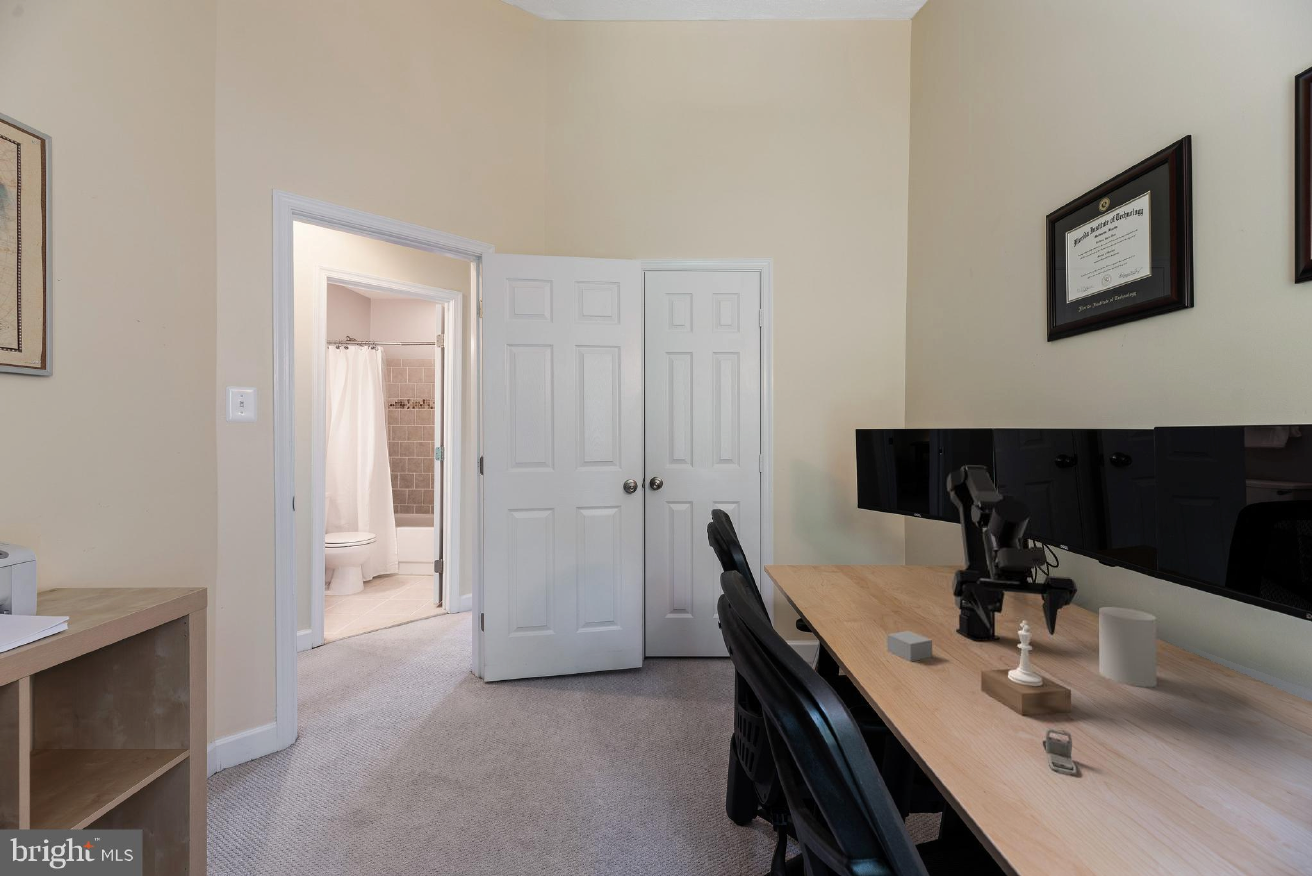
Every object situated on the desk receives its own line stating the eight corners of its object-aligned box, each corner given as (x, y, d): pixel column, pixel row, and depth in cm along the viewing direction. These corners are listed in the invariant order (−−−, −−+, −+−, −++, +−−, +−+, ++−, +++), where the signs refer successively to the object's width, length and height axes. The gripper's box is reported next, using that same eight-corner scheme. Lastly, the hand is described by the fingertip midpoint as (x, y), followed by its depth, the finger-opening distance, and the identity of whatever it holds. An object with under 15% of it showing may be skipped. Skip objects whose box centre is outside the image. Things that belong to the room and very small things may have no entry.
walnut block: (1026, 687, 99) (1026, 668, 99) (1071, 711, 90) (1071, 690, 90) (981, 690, 97) (981, 670, 97) (1021, 715, 88) (1021, 693, 89)
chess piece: (1029, 673, 96) (1029, 616, 96) (1049, 686, 91) (1049, 626, 91) (1001, 673, 96) (1001, 616, 96) (1019, 686, 91) (1019, 625, 91)
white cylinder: (1146, 673, 105) (1146, 610, 105) (1164, 690, 98) (1163, 622, 98) (1093, 665, 109) (1093, 605, 109) (1107, 681, 101) (1106, 616, 101)
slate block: (908, 647, 118) (908, 630, 118) (932, 657, 113) (932, 639, 113) (887, 651, 116) (887, 634, 116) (910, 661, 110) (910, 644, 110)
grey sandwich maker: (1078, 780, 72) (1078, 748, 72) (1050, 773, 73) (1050, 741, 73) (1066, 748, 79) (1066, 719, 80) (1041, 743, 81) (1041, 714, 81)
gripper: (954, 526, 103) (967, 602, 93) (1073, 532, 97) (1100, 613, 87) (947, 559, 111) (958, 632, 100) (1056, 566, 105) (1080, 645, 94)
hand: (1021, 630), depth 95 cm, fingers open, 9 cm apart
